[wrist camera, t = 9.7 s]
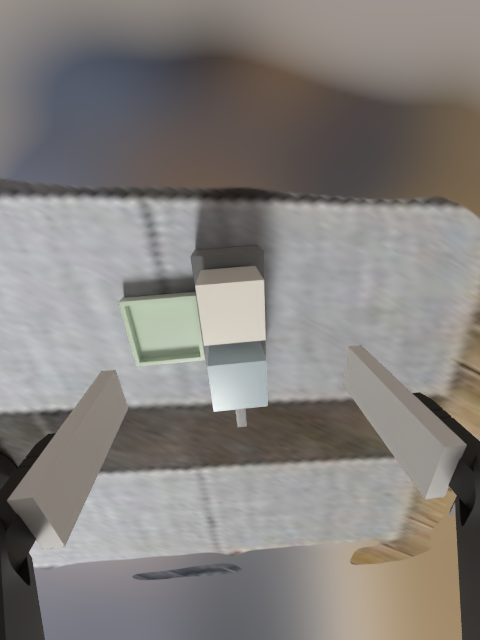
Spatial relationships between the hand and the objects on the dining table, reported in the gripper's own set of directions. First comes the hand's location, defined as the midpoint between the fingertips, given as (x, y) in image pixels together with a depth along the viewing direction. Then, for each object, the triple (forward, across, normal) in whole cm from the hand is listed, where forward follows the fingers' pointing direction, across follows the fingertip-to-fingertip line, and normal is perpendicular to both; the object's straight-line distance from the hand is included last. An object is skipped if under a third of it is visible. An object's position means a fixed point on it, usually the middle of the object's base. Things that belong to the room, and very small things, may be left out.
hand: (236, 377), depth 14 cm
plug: (+20, 0, 0) cm, 20 cm away
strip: (+21, 0, -6) cm, 22 cm away
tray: (+21, -9, -6) cm, 24 cm away
